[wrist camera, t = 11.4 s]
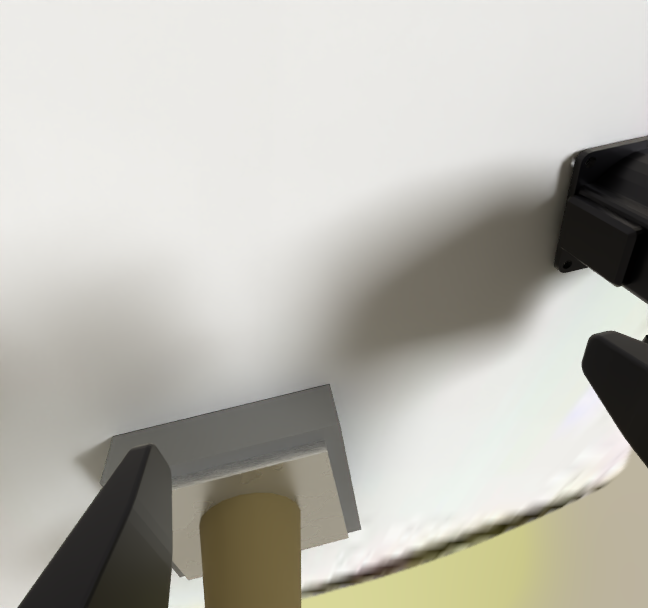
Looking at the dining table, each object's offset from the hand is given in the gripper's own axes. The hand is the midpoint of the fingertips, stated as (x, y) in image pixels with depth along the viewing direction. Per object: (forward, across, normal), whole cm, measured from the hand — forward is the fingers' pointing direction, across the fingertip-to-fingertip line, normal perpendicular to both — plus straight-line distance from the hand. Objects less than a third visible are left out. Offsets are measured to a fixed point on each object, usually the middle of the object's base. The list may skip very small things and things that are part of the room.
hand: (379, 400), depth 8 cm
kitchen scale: (+12, +7, +18) cm, 23 cm away
